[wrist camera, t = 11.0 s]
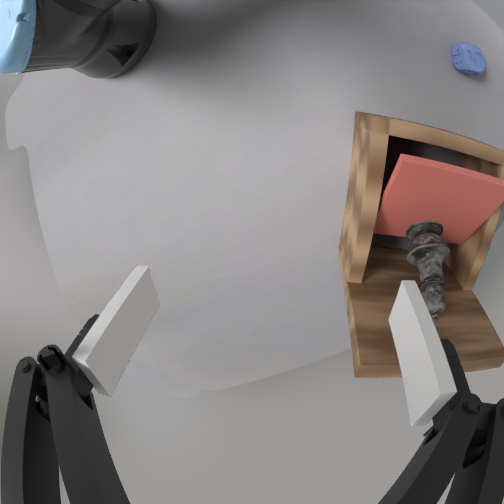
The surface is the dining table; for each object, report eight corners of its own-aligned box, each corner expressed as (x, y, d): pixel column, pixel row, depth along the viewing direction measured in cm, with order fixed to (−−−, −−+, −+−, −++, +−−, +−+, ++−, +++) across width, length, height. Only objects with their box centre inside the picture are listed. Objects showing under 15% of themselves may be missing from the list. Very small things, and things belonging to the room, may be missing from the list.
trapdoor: (400, 153, 23) (402, 161, 22) (510, 182, 21) (513, 189, 20) (367, 226, 35) (367, 232, 34) (460, 238, 33) (461, 244, 32)
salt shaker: (437, 243, 33) (446, 328, 28) (399, 242, 35) (405, 329, 29) (450, 219, 28) (467, 314, 23) (409, 217, 30) (421, 316, 24)
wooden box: (355, 111, 32) (426, 129, 13) (475, 140, 30) (582, 193, 10) (337, 254, 44) (354, 377, 24) (444, 264, 41) (499, 367, 21)
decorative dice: (449, 45, 23) (462, 41, 20) (470, 51, 23) (484, 49, 19) (452, 69, 25) (466, 68, 22) (473, 75, 25) (487, 75, 21)
